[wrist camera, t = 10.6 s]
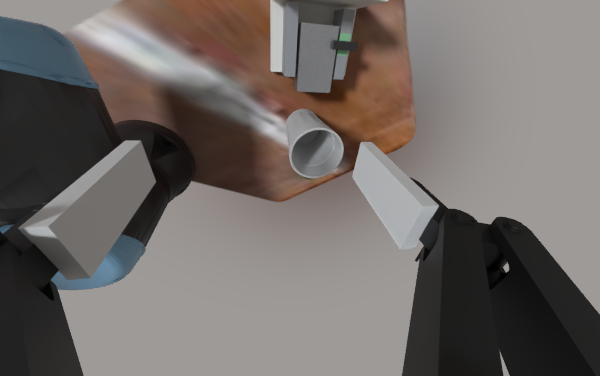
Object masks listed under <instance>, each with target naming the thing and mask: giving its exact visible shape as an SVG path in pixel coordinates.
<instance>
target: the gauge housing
mask: <svg viewBox="0 0 600 376" xmlns="http://www.w3.org/2000/svg"><path fill="white" fill-rule="evenodd" d="M383 2H388V0H270V25H271V71H272V72H282V73H283V75H284V76H289V77H295V69H296V51H297V34H298V23H300V22H304V23H313V24H322V25H332V26H340V27H339V33H338V41H349V42H351V38H352V33H353V27H354V21H355V16H356V10H357V9H359V8H363V7H367V6H371V5H375V4H379V3H383ZM348 55H349V51H346V50H336V54H335V61H334V68H333V74H332V79H338V80H343V78H344V76H345V72H346V67H347V61H348Z"/></svg>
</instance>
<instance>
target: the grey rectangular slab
mask: <svg viewBox="0 0 600 376" xmlns="http://www.w3.org/2000/svg"><path fill="white" fill-rule="evenodd" d="M339 27H340V26H332V25H322V24H313V23H304V22H300V23H298V34H297V51H296V69H295V77H294V79H293V86H294V88H295V89H296V91H300V92H321V93H330V88H331V81H332V74H333V68H334V61H335V54H336V50H346V51H356V47H357V42H349V41H338V33H339Z"/></svg>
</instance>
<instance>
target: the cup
mask: <svg viewBox="0 0 600 376" xmlns="http://www.w3.org/2000/svg"><path fill="white" fill-rule="evenodd" d="M286 131H287V137H288V146H289V158H290V163H291V165H292V167H293V169H294V170H295V171H296V172H297V173H298V174H300V175H302V176H304V177H308V178H319V177H323V176H325V175H327V174H329V173H331V172H332V171H333V170H334V169H335V168H336V167H337V166H338V165H339V163H340V162H341V160H342V157H343V152H344V147H343V143H342V140H341V138H340V137H339V136H338V134H337V133H335V132H334V131H333V130H332V129H331V128H329V127H328V126H327V125H325V124H324V123H323V122H322V121H321V120H320V119H319V118H318V117H317V116H316V115H315V113H313V112H312V111H310V110H308V109H299V110H296V111H294V112H293V113H292V114H291V115H290V116H289V117H288V119H287V122H286Z"/></svg>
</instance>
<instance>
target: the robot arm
mask: <svg viewBox="0 0 600 376" xmlns="http://www.w3.org/2000/svg"><path fill="white" fill-rule="evenodd" d="M98 89H100V88H99V85H98V84H97V83H96V82H94V80H93V78H92V76H91V74H90V72H89V71H88V69H87V67H86V65H85V63H84V61H83V59H82V57H81V56H80V54H79V52H78V50H77V48H76V47H75V45H74V44H73V43H72V42H71V41H70V40H69V39H68V38H67V37H66V36H64V35H63V34H61V33H60V32H58V31H57V30H55V29H52V28H50V27H47V26H45V25H42V24H38V23H33V22H27V21H23V20H18V19H12V18H7V17H1V16H0V376H83V372H82V369H81V366H80V362H79V359H78V356H77V353H76V349H75V346H74V343H73V339H72V336H71V333H70V330H69V326H68V323H67V320H66V316H65V313H64V310H63V306H62V303H61V300H60V296H59V293H58V290H83V289H92V288H98V287H103V286H106V285H110V284H113V283H115V282H117V281H119V280H121V279H122V278H124V277H125V276H126V275H127V274H129V273H130V272H131V270H132V269H133V268H134V266H135V264H136V263H137V261H138V260H139V258H140V257H141V256H142V255H143V254H144V252H145V247H146V245H147V243H148V241H149V239H150V237H151V235H152V233H153V232H154V230H155V228H156V226H157V224H158V222H159V220H160V218H161V216H162V214H163V212H164V210H165V208H166V206H167V204H168V203H169V202H170V201H171V200H173V199H174V197H176V196H178V195H179V194H181V193H182V192H183V191H184V190H186V188H187V187H188V186H189V184H190V182H191V180H192V178H193V175H194V171H195V163H194V159H193V156H192V154H191V152H190V150H189V148H188V147H187V145H186V144H185V143H184V142H183V141H182V140H181V139H180V138H179V137H178V136H177V135H175V134H174V133H173V132H171V131H170V130H168V129H166V128H164V127H162V126H160V125H157V124H154V123H151V122H147V121H141V120H127V121H122V122H118V123H116V124H114V123H113V121H112V119H111V117H110V115H109V113H108V110H107V108H106V106H105V104H104V102H103V99H102V97H101V95H100V92H99V90H98ZM352 178H353V179H354V181H355V182H356V184H357V185H358V187H359V188H360V190H361V191H362V193H363V194H364V196H365V197H366V199H367V200H368V202H369V203H370V205H371V206H372V208H373V209H374V211H375V212H376V214H377V215H378V217H379V218H380V220H381V221H382V223H383V224H384V226H385V227H386V229H387V230H388V232H389V233H390V235H391V236H392V238H393V239H394V241H395V242H396V244H397V245H398V247H399V248H400V249H411V248H415V246H416V244H417V242H418V241H419V240H420V241H421V242H422V243H423V245H424V247H423V248H422V250H421V251H420V253H419V255H418V256H417V258H416V260H415V261H418V260H419V259H420V260H419V268H418V274H417V280H416V287H415V294H414V300H413V307H412V314H411V320H410V327H409V333H408V340H407V347H406V353H405V361H404V367H403V373H402V376H503V371H502V364H501V359H500V352H501V354H502V357H503V360H504V362H505V365H506V367H507V370H508V372H509V375H510V376H600V314H599V313H598V312H597V311H596V310H595V308H594V307H593V306H592V305H591V303H590V302H589V301H588V300H587V299H586V297H585V296H584V295H583V294H582V293H581V291H580V290H579V289H578V288H577V286H576V285H575V284H574V283H573V282H572V280H571V279H570V278H569V277H568V276H567V274H566V273H565V272H564V270H563V269H562V268H561V267H560V266H559V264H558V263H557V262H556V261H555V260H554V258H553V257H552V256H551V255H550V253H549V252H548V251H547V250H546V248H545V247H544V246H543V245H542V244H541V242H540V241H539V240H538V239H537V238H536V236H535V235H534V234H533V233H532V231H531V230H529V229H528V228H527V227H526V226H524V225H523V224H522V223H520V222H518V221H516V220H514V219H510V218H506V217H497V218H496V219H495V220H494V221H493V222H492V224H491V225H490V224H484V223H478V222H477V220H475V219H474V218H473V217H472V216H470V215H469V214H467V213H465V212H463V211H461V210H457V209H448V208H447V207H446V206H445V205H444V204H443V203H441V202H440V201H439V200H438V199H437V198H436V197H435V196H434V195H433V194H431V193H430V192H429V191H428V190H427V189H425V187H424V186H423V185H422V184H421V183H419V182H418V181H416V180H414V179H413V178H410V177H408V176H407V175H406V174H405V173H404V172H403V171H402V170H401V169H400V168H399V167H398V166H397V165H395V164H394V163H393V162H392V161H391V160H390V159H389V158H388V157H387V156H386V155H385V154H384V153H383V152H382V151H381V150H380V149H378V148H377V147H376V146H375V145H374V144H373V143H372V142H361V144H360V148H359V152H358V156H357V160H356V164H355V167H354V171H353V175H352ZM507 262H508V264H509V271H508V272H507V273H506V272H505V270H504V269H503V266H504V265H505V264H506V263H507ZM57 289H58V290H57ZM499 350H500V352H499Z"/></svg>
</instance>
